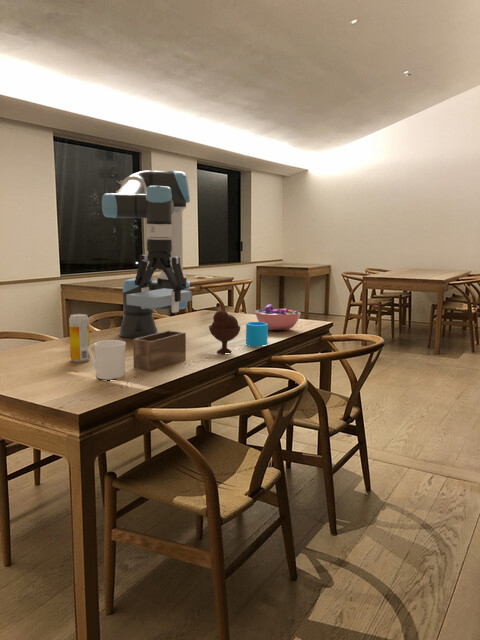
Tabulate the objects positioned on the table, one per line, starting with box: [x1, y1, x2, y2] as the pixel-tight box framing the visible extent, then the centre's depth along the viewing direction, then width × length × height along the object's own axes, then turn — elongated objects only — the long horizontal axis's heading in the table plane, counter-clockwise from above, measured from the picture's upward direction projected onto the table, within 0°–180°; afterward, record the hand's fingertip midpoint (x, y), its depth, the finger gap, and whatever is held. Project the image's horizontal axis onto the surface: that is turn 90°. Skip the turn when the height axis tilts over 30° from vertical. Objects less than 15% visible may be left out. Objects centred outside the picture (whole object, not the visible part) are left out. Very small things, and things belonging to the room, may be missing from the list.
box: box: [132, 330, 187, 372], centre depth 168 cm, size 7×17×10 cm, turn 149°
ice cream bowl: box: [208, 310, 241, 355], centre depth 188 cm, size 11×11×15 cm
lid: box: [126, 288, 193, 310], centre depth 166 cm, size 11×18×4 cm, turn 149°
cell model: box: [254, 303, 302, 331], centre depth 232 cm, size 17×20×11 cm
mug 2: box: [245, 321, 269, 347], centre depth 204 cm, size 12×8×8 cm
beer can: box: [68, 313, 91, 363], centre depth 174 cm, size 6×6×15 cm
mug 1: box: [88, 339, 127, 382], centre depth 155 cm, size 11×9×10 cm
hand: (160, 310), depth 166 cm, fingers closed on lid, 11 cm apart
